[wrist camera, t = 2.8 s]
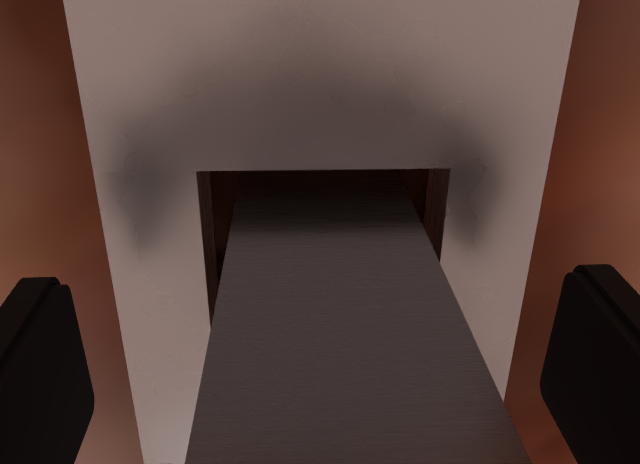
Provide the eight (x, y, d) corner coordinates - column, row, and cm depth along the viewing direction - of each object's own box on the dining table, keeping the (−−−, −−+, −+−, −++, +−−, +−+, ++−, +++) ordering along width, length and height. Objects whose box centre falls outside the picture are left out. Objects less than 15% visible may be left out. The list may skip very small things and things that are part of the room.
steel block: (388, 300, 17) (496, 699, 8) (248, 303, 17) (205, 714, 8) (397, 169, 15) (548, 500, 6) (241, 171, 15) (175, 513, 6)
